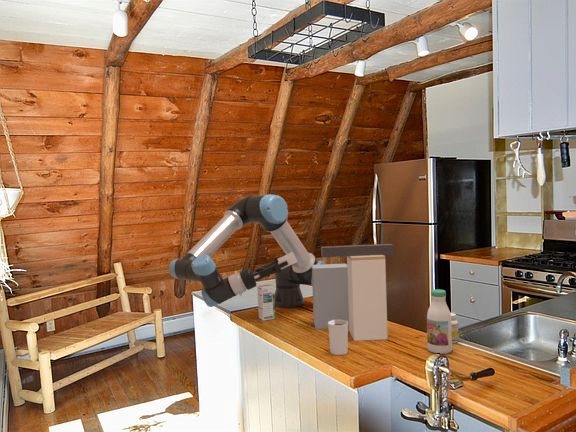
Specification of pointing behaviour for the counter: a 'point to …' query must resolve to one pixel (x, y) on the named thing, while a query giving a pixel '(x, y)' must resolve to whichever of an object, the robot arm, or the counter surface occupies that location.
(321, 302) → the tall grey pillar block
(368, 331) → the cabinet block
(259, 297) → the syrup box
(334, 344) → the white cup
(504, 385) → the counter surface
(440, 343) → the milk bottle
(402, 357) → the counter surface
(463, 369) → the counter surface
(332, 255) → the handle rail
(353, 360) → the counter surface
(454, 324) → the supplement bottle
